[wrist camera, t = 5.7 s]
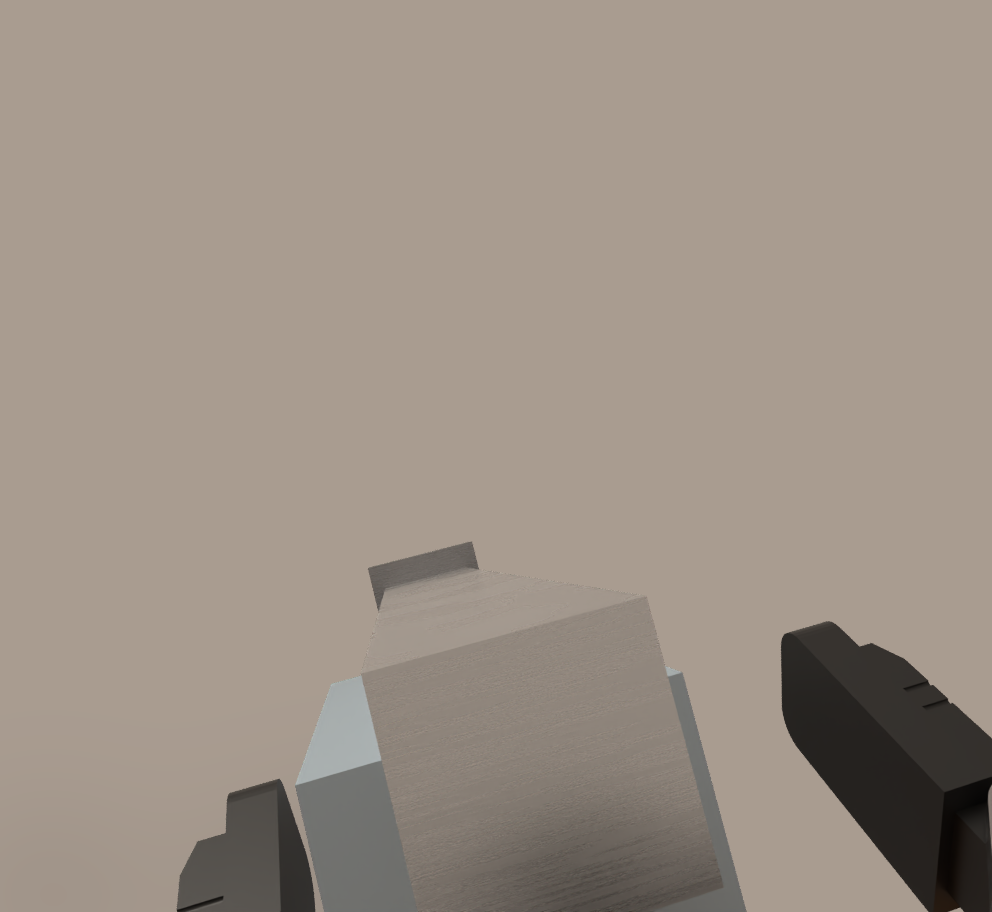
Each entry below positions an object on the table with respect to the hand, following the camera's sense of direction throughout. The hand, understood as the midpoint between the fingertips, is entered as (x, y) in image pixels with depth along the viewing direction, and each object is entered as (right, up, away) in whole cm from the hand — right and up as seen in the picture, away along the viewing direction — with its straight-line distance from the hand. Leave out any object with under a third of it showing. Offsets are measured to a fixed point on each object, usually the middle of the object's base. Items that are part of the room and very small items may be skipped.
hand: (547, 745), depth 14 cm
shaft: (-1, -3, +11) cm, 12 cm away
